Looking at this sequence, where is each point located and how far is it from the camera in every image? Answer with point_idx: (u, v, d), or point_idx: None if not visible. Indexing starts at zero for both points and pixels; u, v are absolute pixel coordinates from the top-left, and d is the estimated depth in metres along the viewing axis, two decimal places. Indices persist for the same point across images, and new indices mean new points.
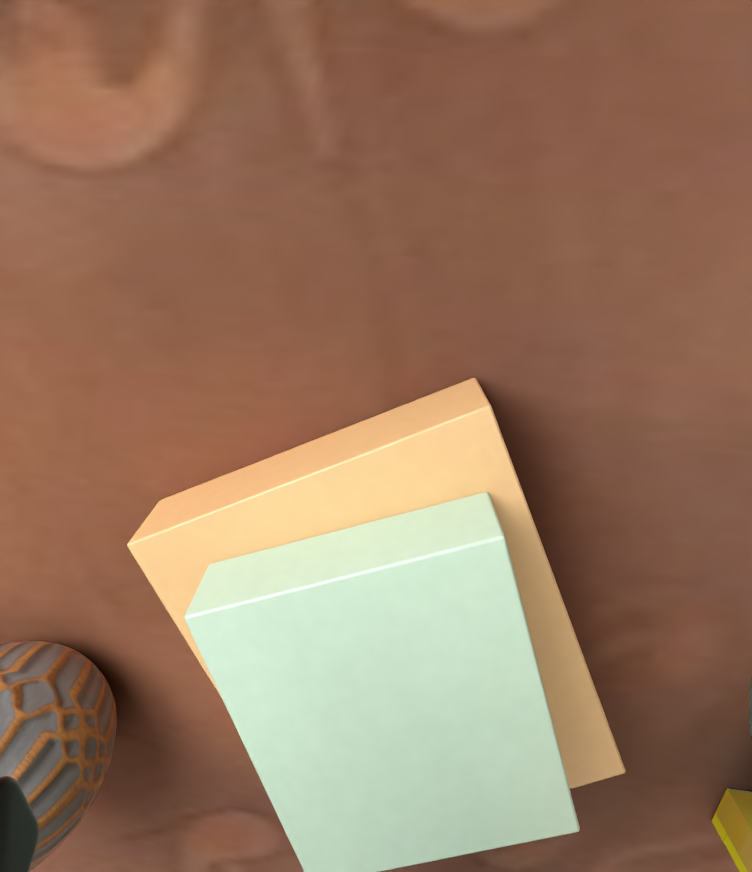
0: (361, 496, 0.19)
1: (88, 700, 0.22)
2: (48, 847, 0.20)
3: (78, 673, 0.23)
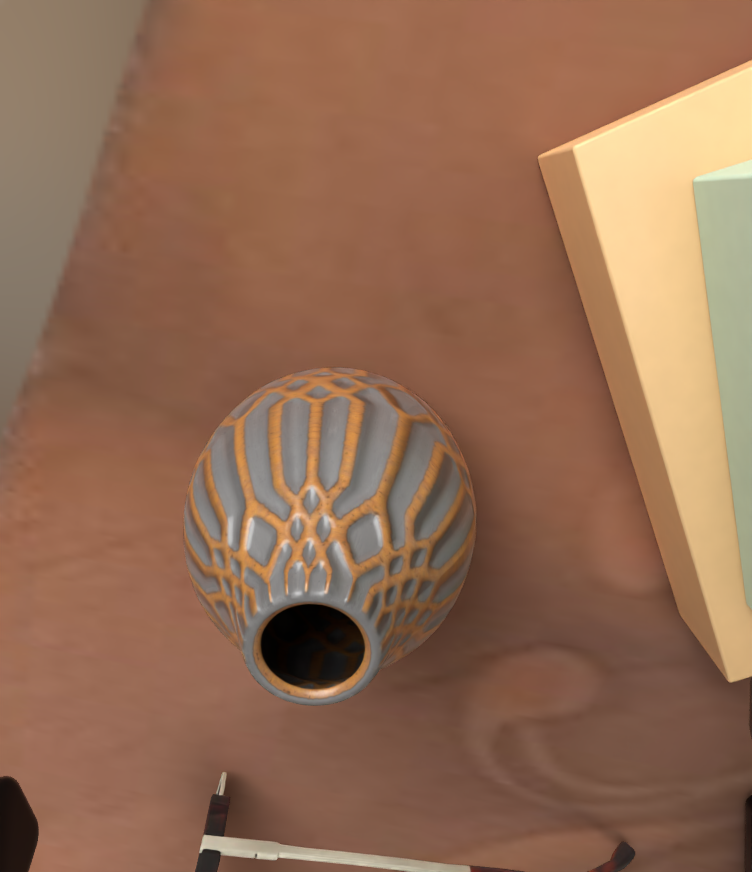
0: None
1: None
2: (447, 612, 0.14)
3: None
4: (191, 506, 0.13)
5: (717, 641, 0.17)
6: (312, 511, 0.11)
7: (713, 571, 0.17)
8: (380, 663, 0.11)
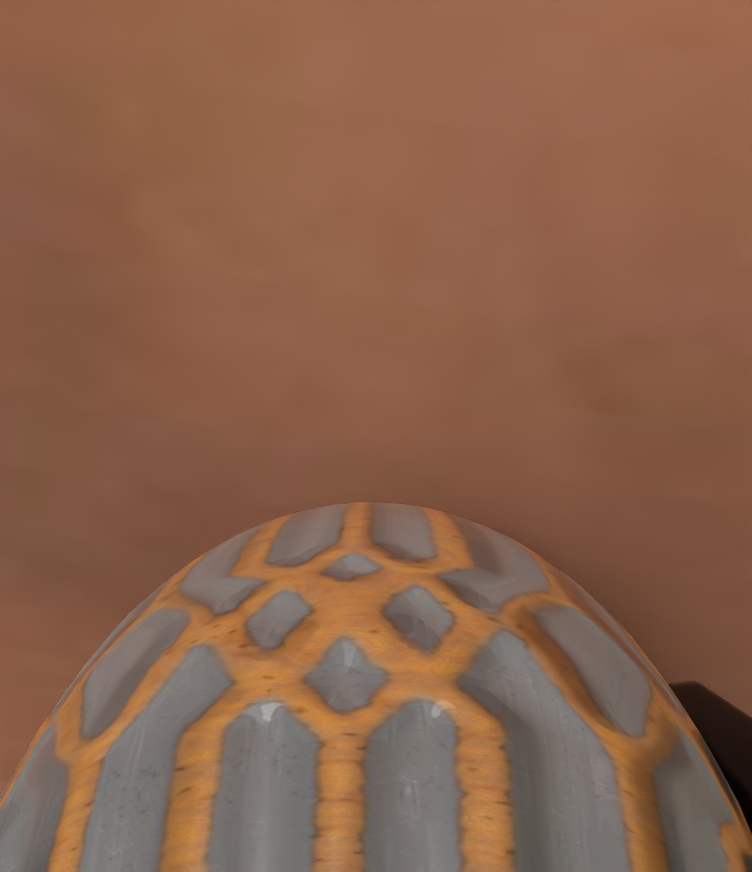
0: None
1: None
2: None
3: None
4: None
5: None
6: None
7: None
8: None
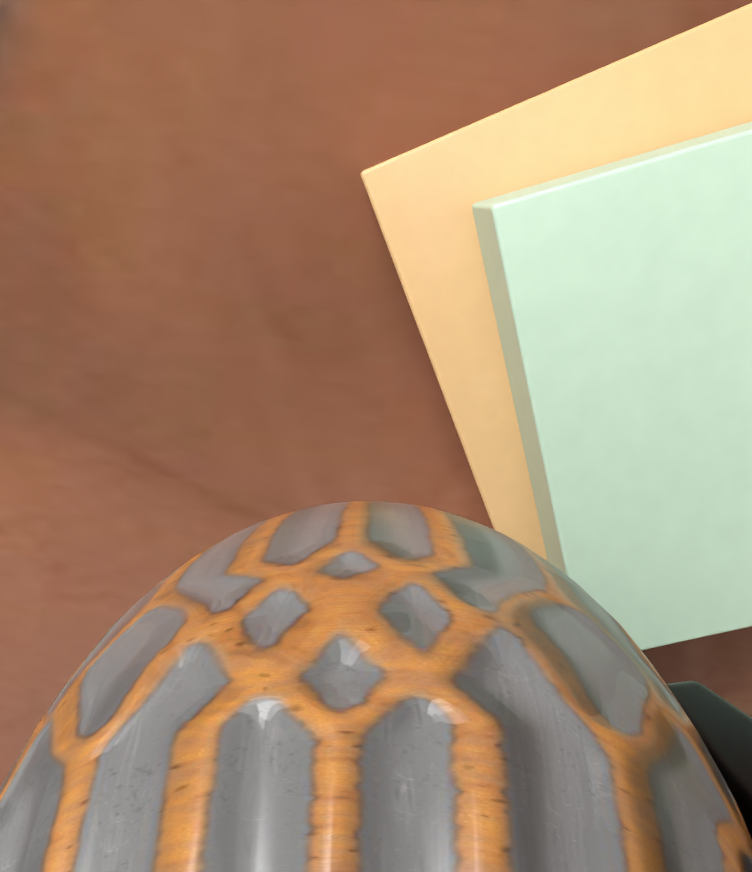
0: (702, 91, 0.14)
1: None
2: None
3: (586, 593, 0.07)
4: None
5: None
6: None
7: None
8: None
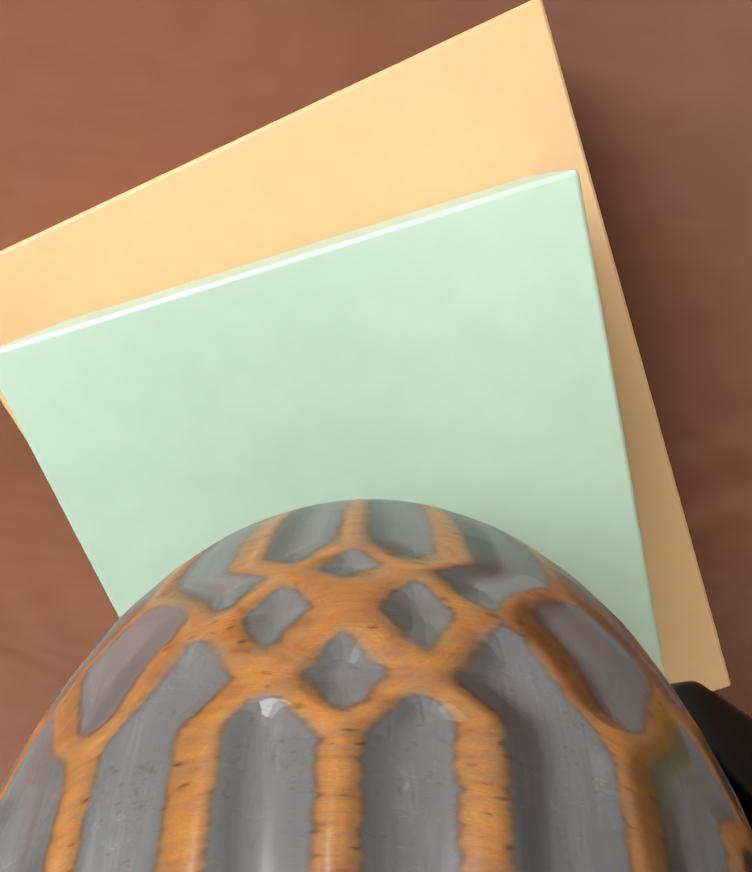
0: (316, 187, 0.11)
1: None
2: None
3: (588, 592, 0.07)
4: None
5: None
6: None
7: None
8: None
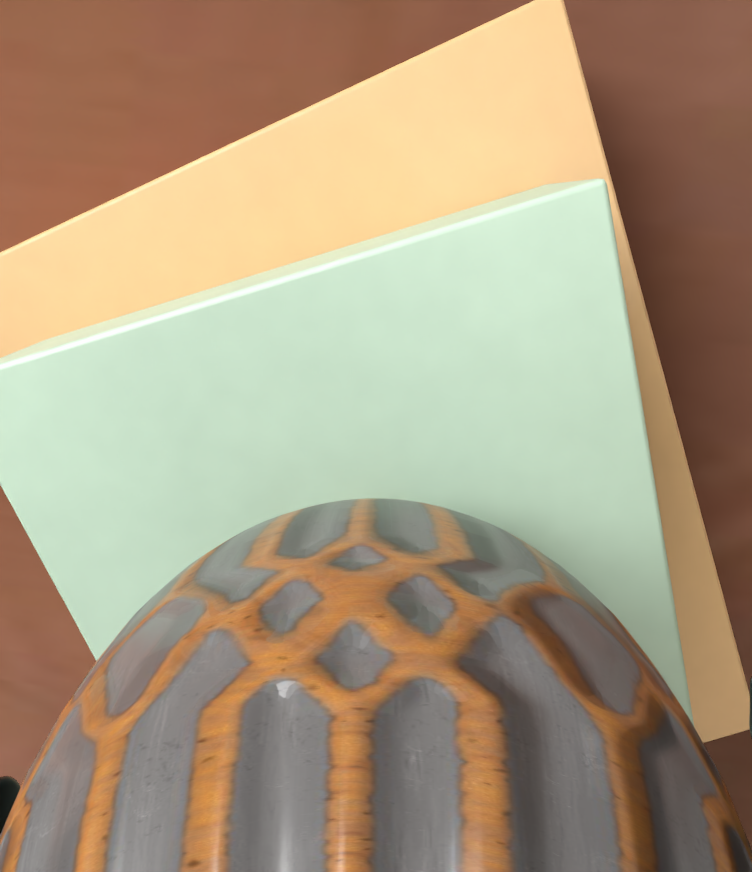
0: (315, 197, 0.10)
1: None
2: None
3: None
4: None
5: None
6: None
7: None
8: None
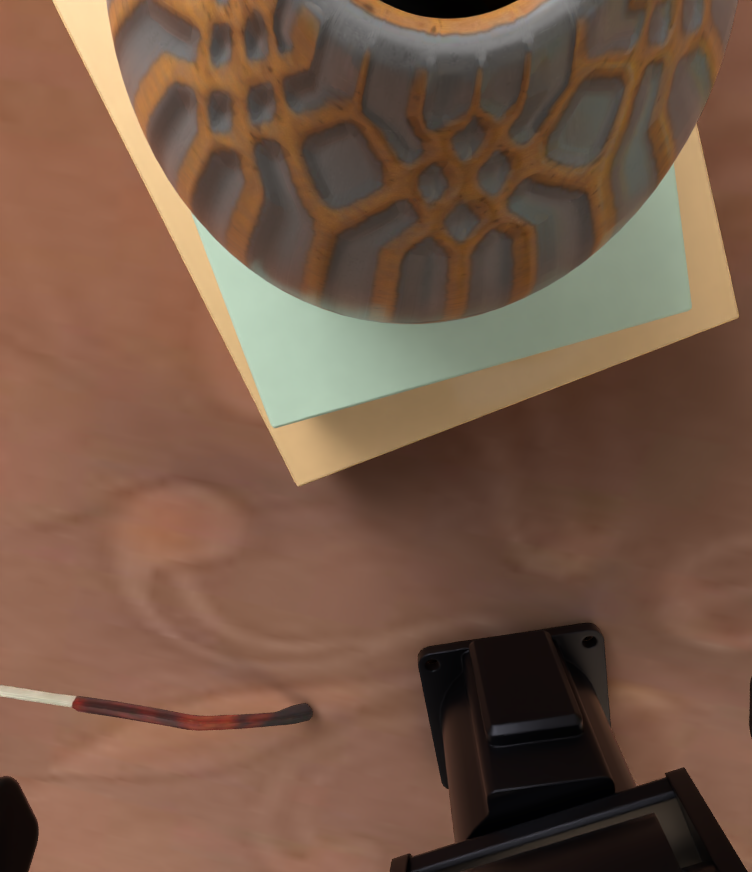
0: None
1: None
2: (692, 117, 0.06)
3: None
4: None
5: (273, 438, 0.17)
6: None
7: None
8: None
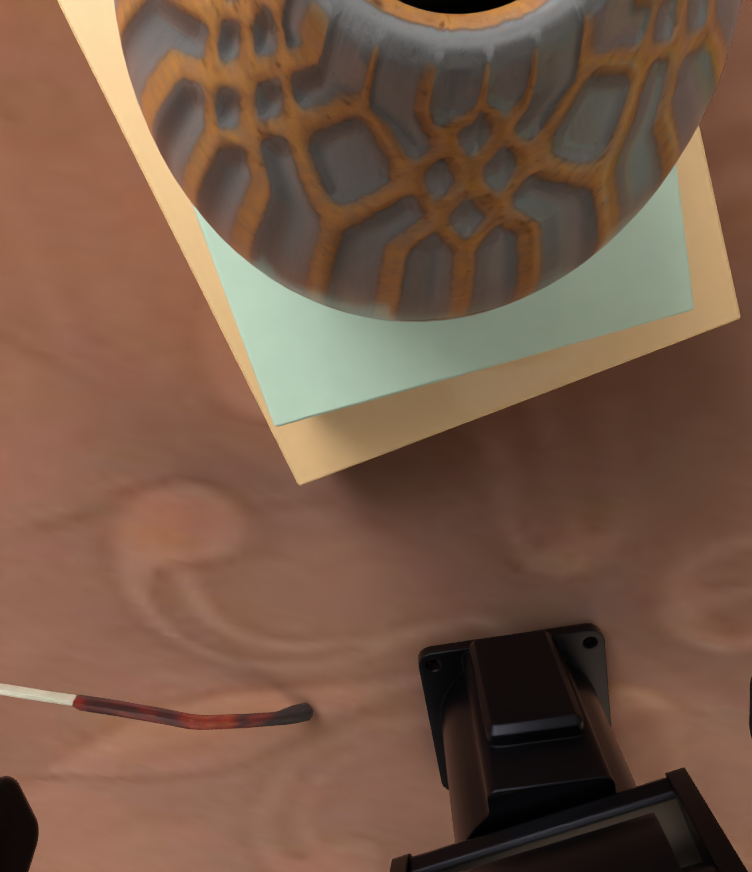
0: None
1: None
2: (696, 116, 0.06)
3: None
4: None
5: (275, 437, 0.17)
6: None
7: None
8: None
